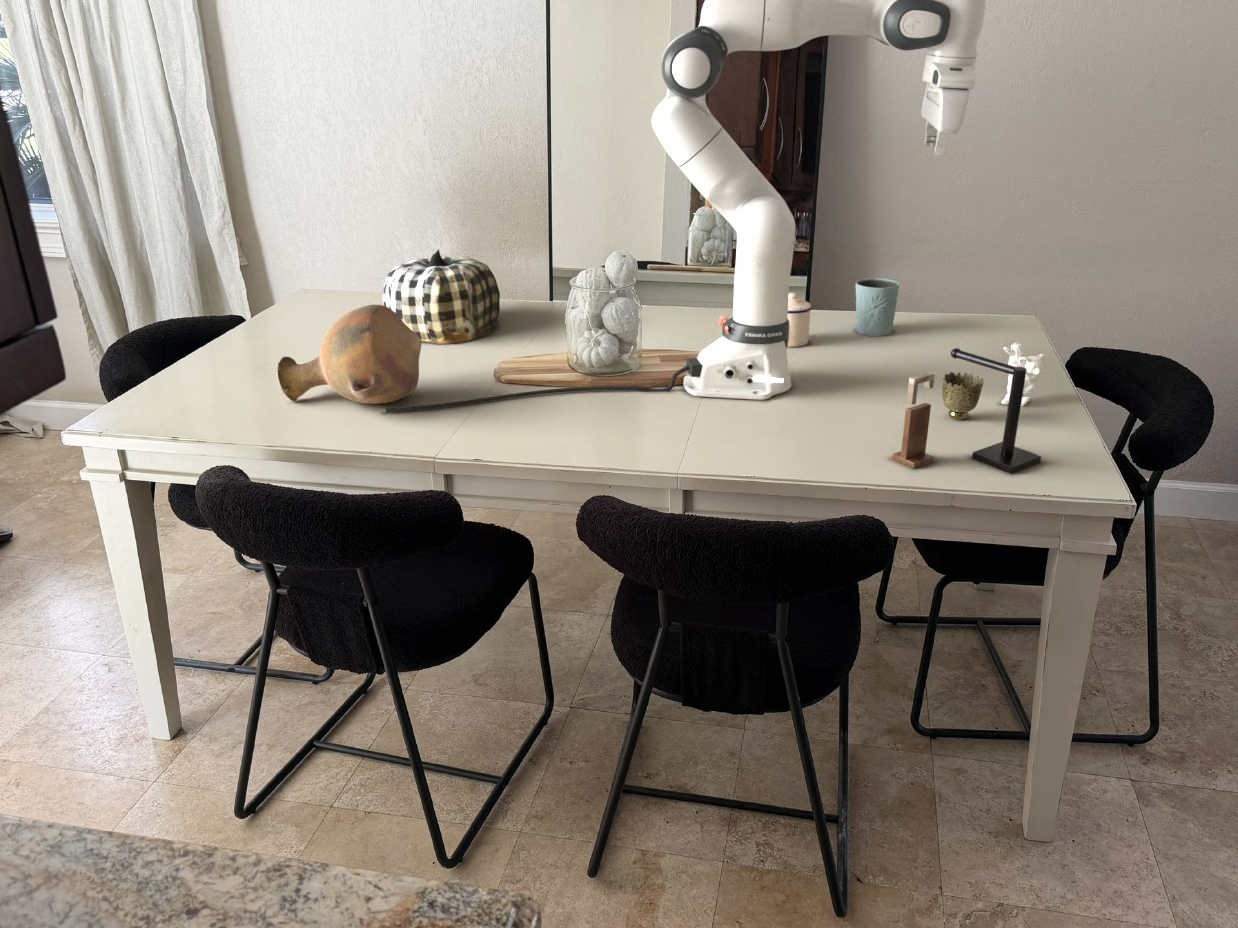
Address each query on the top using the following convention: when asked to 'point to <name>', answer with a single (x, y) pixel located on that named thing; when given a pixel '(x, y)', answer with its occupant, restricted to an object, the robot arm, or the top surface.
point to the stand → (1006, 452)
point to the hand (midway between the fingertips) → (934, 150)
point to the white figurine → (1033, 369)
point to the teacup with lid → (798, 320)
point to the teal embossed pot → (876, 306)
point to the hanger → (916, 426)
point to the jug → (359, 359)
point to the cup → (961, 394)
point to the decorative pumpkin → (444, 298)
